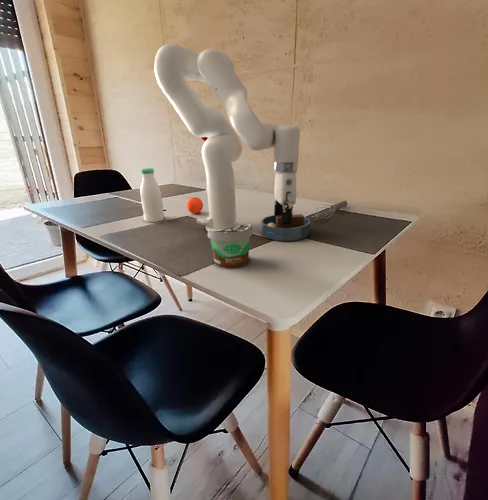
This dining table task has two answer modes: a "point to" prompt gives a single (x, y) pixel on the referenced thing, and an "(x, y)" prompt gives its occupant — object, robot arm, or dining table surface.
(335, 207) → the kitchen whisk
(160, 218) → the milk bottle
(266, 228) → the bowl
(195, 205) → the clementine
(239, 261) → the food container
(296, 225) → the brown wooden block
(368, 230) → the dining table surface
